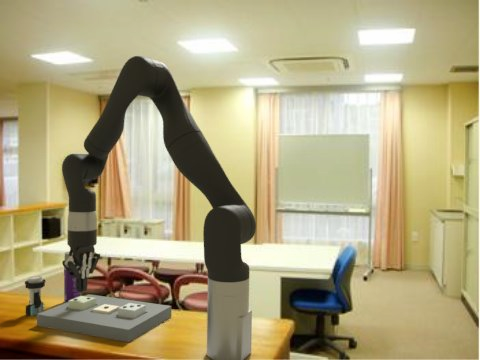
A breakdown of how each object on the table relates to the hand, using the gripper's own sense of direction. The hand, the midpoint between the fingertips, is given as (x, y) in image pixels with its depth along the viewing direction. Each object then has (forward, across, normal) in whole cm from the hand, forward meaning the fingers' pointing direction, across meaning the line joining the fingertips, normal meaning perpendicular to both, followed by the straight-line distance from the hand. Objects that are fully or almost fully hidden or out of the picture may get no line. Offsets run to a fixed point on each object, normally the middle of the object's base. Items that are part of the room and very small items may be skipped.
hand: (81, 291), depth 127 cm
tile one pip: (+6, 0, -8) cm, 10 cm away
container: (+7, +10, +12) cm, 17 cm away
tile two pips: (+5, 0, 0) cm, 5 cm away
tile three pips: (+5, 0, -16) cm, 17 cm away
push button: (+7, -2, +14) cm, 16 cm away
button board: (+7, 0, -8) cm, 11 cm away
